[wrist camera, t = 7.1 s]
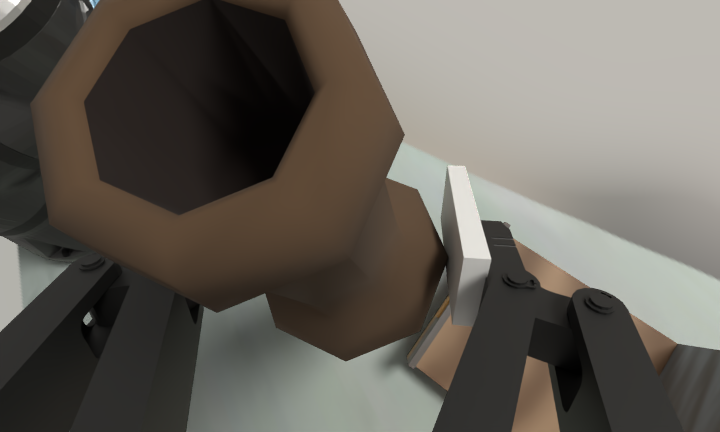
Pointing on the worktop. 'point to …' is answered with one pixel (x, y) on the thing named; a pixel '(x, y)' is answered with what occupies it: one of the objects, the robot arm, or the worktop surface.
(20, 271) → the worktop surface
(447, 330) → the shelf
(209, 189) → the beer bottle
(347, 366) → the worktop surface
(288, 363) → the worktop surface
